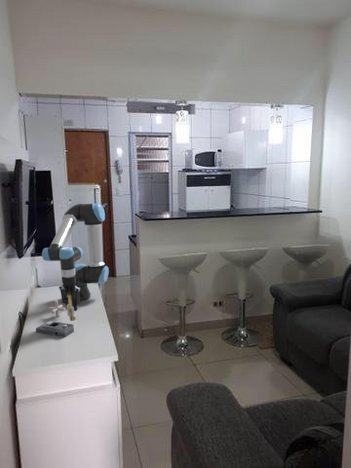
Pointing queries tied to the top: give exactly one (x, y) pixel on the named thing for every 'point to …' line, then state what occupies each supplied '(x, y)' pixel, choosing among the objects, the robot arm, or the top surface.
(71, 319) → the pin
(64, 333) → the square socket block
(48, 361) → the top surface
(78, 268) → the robot arm
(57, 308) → the white crossed rod jack
